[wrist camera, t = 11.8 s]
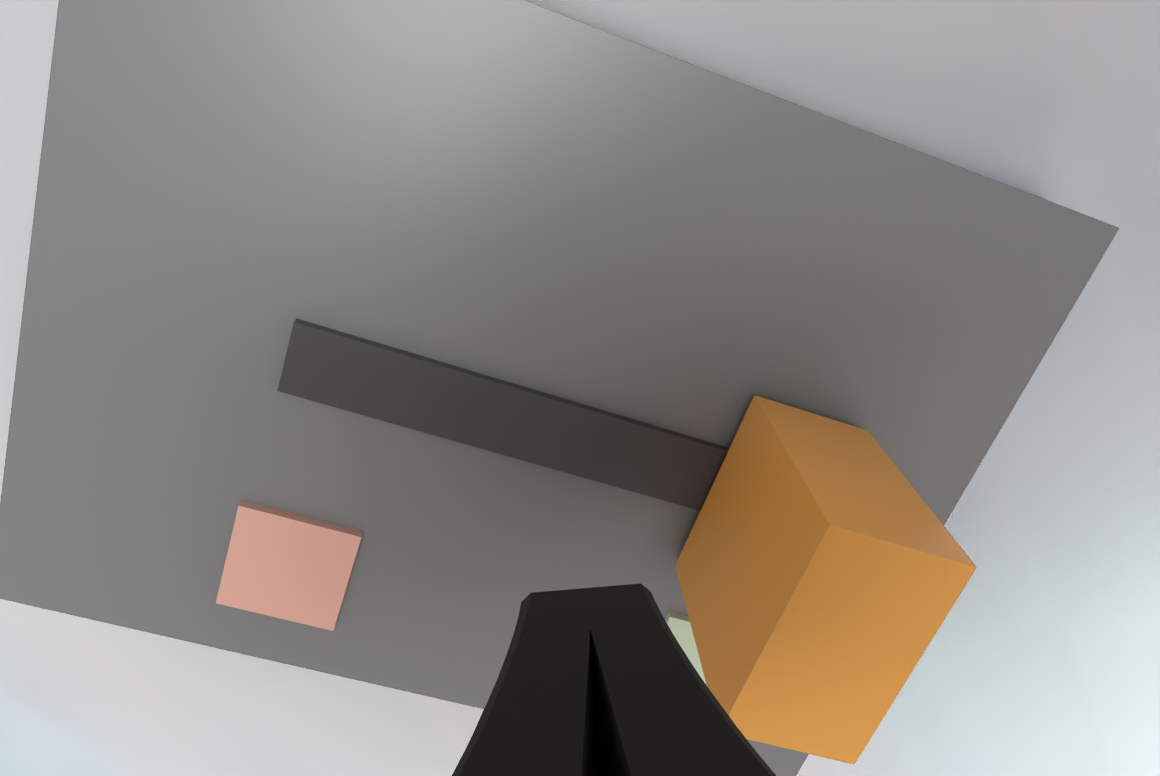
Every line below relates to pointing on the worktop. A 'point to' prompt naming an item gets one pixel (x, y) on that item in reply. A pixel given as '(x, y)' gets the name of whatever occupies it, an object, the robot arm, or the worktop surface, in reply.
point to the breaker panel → (463, 321)
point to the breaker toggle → (814, 581)
